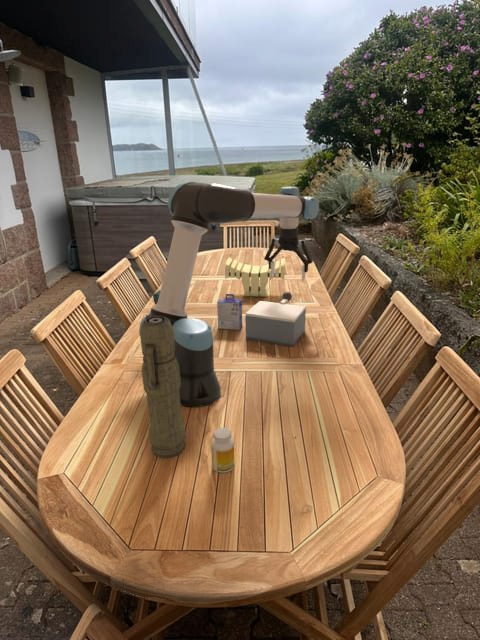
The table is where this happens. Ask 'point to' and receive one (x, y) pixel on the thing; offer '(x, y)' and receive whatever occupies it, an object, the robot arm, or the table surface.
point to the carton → (275, 330)
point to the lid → (277, 310)
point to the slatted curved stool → (253, 276)
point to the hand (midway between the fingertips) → (287, 278)
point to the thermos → (162, 387)
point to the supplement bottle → (222, 450)
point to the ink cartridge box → (229, 313)
